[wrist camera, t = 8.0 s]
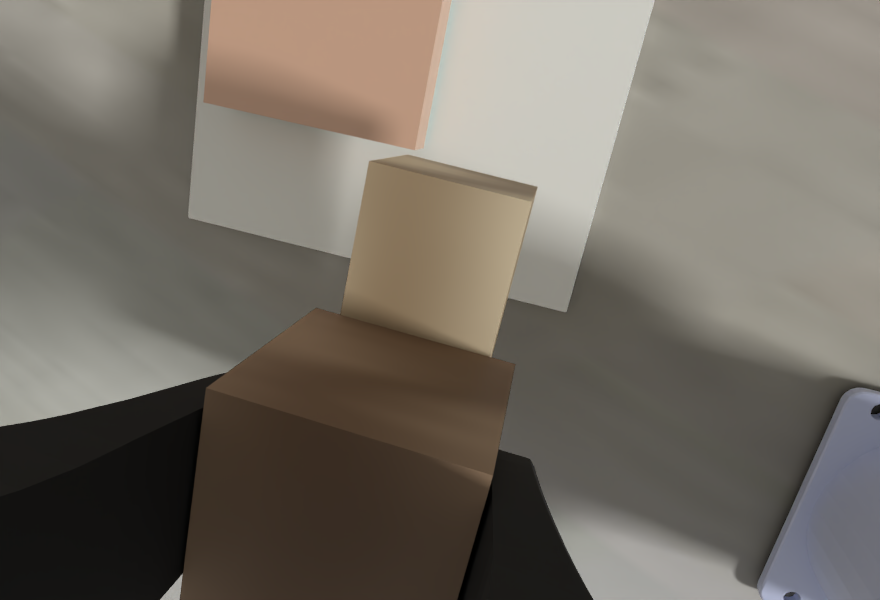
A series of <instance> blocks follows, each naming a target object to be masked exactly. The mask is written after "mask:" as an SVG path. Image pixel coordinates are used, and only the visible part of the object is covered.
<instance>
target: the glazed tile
mask: <svg viewBox="0 0 880 600" xmlns="http://www.w3.org/2000/svg"><path fill="white" fill-rule="evenodd" d="M451 2H452V0H211V12H210V25H209V37H208V50H207V63H206V75H205V88H204V100H203V102H204V103H209V104H213V105H217V106H222V107H226V108H231V109H235V110H240V111H244V112H248V113H253V114H257V115H262V116H266V117H270V118H275V119H279V120H284V121H288V122H292V123H297V124H301V125H306V126H310V127H314V128H319V129H323V130H328V131H332V132H337V133H341V134H345V135H350V136H354V137H359V138H363V139H367V140H372V141H376V142H381V143H385V144H389V145H394V146H398V147H403V148H407V149H411V150H418V149H422V148H424V144H425V139H426V133H427V128H428V123H429V117H430V112H431V107H432V102H433V96H434V91H435V86H436V81H437V75H438V70H439V65H440V60H441V54H442V49H443V44H444V38H445V33H446V28H447V23H448V17H449V12H450V7H451Z"/></svg>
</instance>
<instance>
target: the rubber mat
mask: <svg viewBox="0 0 880 600" xmlns="http://www.w3.org/2000/svg"><path fill="white" fill-rule="evenodd" d="M654 1H655V0H452V2H451V7H450V12H449V17H448V23H447V28H446V33H445V38H444V44H443V49H442V54H441V60H440V65H439V70H438V75H437V81H436V86H435V91H434V96H433V102H432V107H431V112H430V117H429V123H428V128H427V133H426V139H425V144H424V148H422V149H418V150H411V149H407V148H403V147H398V146H394V145H389V144H385V143H381V142H376V141H372V140H367V139H363V138H359V137H354V136H350V135H345V134H341V133H337V132H332V131H328V130H323V129H319V128H314V127H310V126H306V125H301V124H297V123H292V122H288V121H284V120H279V119H275V118H270V117H266V116H262V115H257V114H253V113H248V112H244V111H240V110H235V109H231V108H226V107H222V106H217V105H213V104H209V103H204V102H203V100H204V88H205V75H206V63H207V50H208V37H209V25H210V12H211V0H205V1H204V14H203V27H202V40H201V53H200V66H199V80H198V93H197V106H196V119H195V132H194V145H193V158H192V171H191V185H190V198H189V211H188V218H191V219H195V220H199V221H203V222H207V223H211V224H215V225H219V226H223V227H227V228H231V229H235V230H239V231H243V232H247V233H251V234H255V235H259V236H263V237H267V238H271V239H275V240H279V241H283V242H287V243H291V244H295V245H299V246H303V247H307V248H311V249H315V250H319V251H323V252H327V253H331V254H334V255H338V256H342V257H346V258H350V259H351V255H352V249H353V244H354V239H355V233H356V228H357V223H358V217H359V212H360V207H361V201H362V196H363V191H364V185H365V180H366V175H367V169H368V164H369V161H372V160H378V159H384V158H390V157H396V156H402V155H412V156H416V157H420V158H424V159H428V160H432V161H436V162H440V163H444V164H448V165H452V166H456V167H460V168H464V169H468V170H472V171H476V172H480V173H484V174H488V175H492V176H496V177H500V178H504V179H508V180H512V181H516V182H520V183H524V184H528V185H533V186H537V187H538V188H537V192H536V195H535V199H534V203H533V206H532V210H531V214H530V218H529V221H528V225H527V229H526V232H525V236H524V240H523V243H522V247H521V251H520V255H519V258H518V262H517V266H516V269H515V273H514V277H513V280H512V284H511V288H510V292H509V295H508V298H510V299H514V300H518V301H522V302H526V303H530V304H534V305H538V306H542V307H546V308H550V309H554V310H558V311H562V312H567V308H568V305H569V301H570V298H571V294H572V291H573V287H574V284H575V280H576V277H577V273H578V270H579V266H580V263H581V259H582V255H583V252H584V248H585V245H586V241H587V238H588V234H589V231H590V227H591V224H592V220H593V217H594V213H595V210H596V206H597V202H598V199H599V195H600V192H601V188H602V185H603V181H604V178H605V174H606V171H607V167H608V164H609V160H610V157H611V153H612V149H613V146H614V142H615V139H616V135H617V132H618V128H619V125H620V121H621V118H622V114H623V111H624V107H625V104H626V100H627V97H628V93H629V89H630V86H631V82H632V79H633V75H634V72H635V68H636V65H637V61H638V58H639V54H640V51H641V47H642V44H643V40H644V36H645V33H646V29H647V26H648V22H649V19H650V15H651V12H652V8H653V5H654Z"/></svg>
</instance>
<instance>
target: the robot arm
mask: <svg viewBox="0 0 880 600" xmlns="http://www.w3.org/2000/svg"><path fill="white" fill-rule="evenodd" d="M224 374H226V373H223V374H219V375H215V376H211V377H207V378H203V379H200V380H196V381H192V382H189V383H185V384H182V385H178V386H175V387H171V388H168V389H164V390H160V391H157V392H153V393H150V394H146V395H143V396H139V397H136V398H132V399H128V400H124V401H120V402H116V403H112V404H108V405H104V406H99V407H95V408H91V409H87V410H83V411H79V412H75V413H71V414H67V415H62V416H57V417H52V418H47V419H42V420H37V421H32V422H26V423H20V424H14V425H8V426H2V427H0V600H160V599H161V598H162V597H163V595H164V594H165V593H166V592H167V591H168V590H169V588H170V587H171V586H172V585H173V584H174V583H175V582H176V580H177V579H178V578H179V577H180V576H181V575H182V573H183V570H184V562H185V554H186V546H187V537H188V529H189V521H190V513H191V505H192V497H193V489H194V481H195V473H196V465H197V457H198V448H199V440H200V432H201V424H202V416H203V408H204V400H205V392H206V388H207V387H208V386H209V385H211V384H212V383H213V382H215V381H216V380H218V379H219V378H220V377H222V376H223V375H224ZM879 404H880V392H879V391H875V390H871V389H867V388H859V387H857V388H853V389H850V390H849V391H847V392H845V393H844V395H843V396H842V397H841V399H840V401H839V403H838V405H837V408H836V410H835V412H834V414H833V417H832V419H831V421H830V423H829V425H828V428H827V430H826V432H825V434H824V436H823V439H822V441H821V443H820V445H819V448H818V450H817V452H816V454H815V456H814V459H813V461H812V463H811V465H810V468H809V470H808V472H807V474H806V476H805V479H804V481H803V483H802V485H801V487H800V490H799V492H798V494H797V496H796V499H795V501H794V503H793V505H792V507H791V510H790V512H789V514H788V516H787V519H786V521H785V523H784V525H783V527H782V530H781V532H780V534H779V536H778V538H777V541H776V543H775V545H774V547H773V550H772V552H771V554H770V556H769V558H768V561H767V563H766V565H765V567H764V569H763V572H762V574H761V576H760V578H759V581H758V584H757V589H758V592H759V594H760V597H761V599H762V600H880V413H878V414H871V410H872V409H873V407H874V406H876V405H879ZM789 592H796V593H795V594H794V595H793V596H790V597H787V596H784V595H785V594H786V593H789ZM457 600H593V598H592V596H591V595H590V593H589V591H588V590H587V588H586V586H585V584H584V582H583V580H582V578H581V577H580V575H579V573H578V571H577V569H576V567H575V565H574V563H573V561H572V559H571V557H570V555H569V553H568V551H567V549H566V547H565V545H564V543H563V540H562V538H561V536H560V534H559V532H558V529H557V527H556V525H555V523H554V520H553V518H552V516H551V513H550V511H549V508H548V506H547V503H546V500H545V498H544V495H543V492H542V490H541V487H540V484H539V481H538V478H537V475H536V471H535V468H534V466H533V464H532V462H531V460H530V459H528V458H525V457H522V456H518V455H515V454H512V453H508V452H505V451H502V450H498V453H497V458H496V463H495V468H494V473H493V478H492V481H491V484H490V488H489V491H488V495H487V498H486V502H485V505H484V509H483V512H482V516H481V519H480V523H479V526H478V529H477V533H476V536H475V540H474V543H473V547H472V550H471V554H470V557H469V561H468V564H467V568H466V571H465V574H464V578H463V581H462V585H461V588H460V592H459V595H458V599H457Z"/></svg>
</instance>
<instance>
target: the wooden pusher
mask: <svg viewBox="0 0 880 600" xmlns="http://www.w3.org/2000/svg"><path fill="white" fill-rule="evenodd" d="M537 188H538V187H537V186H533V185H528V184H524V183H520V182H516V181H512V180H508V179H504V178H500V177H496V176H492V175H488V174H484V173H480V172H476V171H472V170H468V169H464V168H460V167H456V166H452V165H448V164H444V163H440V162H436V161H432V160H428V159H424V158H420V157H416V156H412V155H402V156H396V157H390V158H384V159H378V160H372V161H369V164H368V169H367V175H366V180H365V185H364V191H363V196H362V201H361V207H360V212H359V217H358V223H357V228H356V233H355V239H354V244H353V249H352V255H351V260H350V265H349V271H348V276H347V281H346V287H345V292H344V297H343V303H342V308H341V313H340V314H336V313H332V312H329V311H325V310H322V309H318V308H315V309H314V310H313V311H311V312H310V313H308V314H307V315H306V316H304V317H303V318H302V319H300V320H299V321H297V322H296V323H295V324H293V325H292V326H291V327H289V328H288V329H286V330H285V331H284V332H282V333H281V334H280V335H278V336H277V337H275V338H274V339H273V340H271V341H270V342H269V343H267V344H266V345H264V346H263V347H262V348H260V349H259V350H258V351H256V352H255V353H253V354H252V355H251V356H249V357H248V358H247V359H245V360H244V361H242V362H241V363H240V364H238V365H237V366H235V367H234V368H233V369H231V370H230V371H229V372H227V373H226V374H224V375H223V376H222V377H220V378H219V379H218V380H216V381H215V382H213V383H212V384H211V385H209V386H208V387H207V388H206V392H205V400H204V408H203V416H202V424H201V432H200V440H199V448H198V457H197V465H196V473H195V481H194V489H193V497H192V505H191V513H190V521H189V529H188V537H187V546H186V554H185V562H184V570H183V578H182V586H181V594H180V600H457V599H458V595H459V592H460V588H461V585H462V581H463V578H464V574H465V571H466V568H467V564H468V561H469V557H470V554H471V550H472V547H473V543H474V540H475V536H476V533H477V529H478V526H479V523H480V519H481V516H482V512H483V509H484V505H485V502H486V498H487V495H488V491H489V488H490V484H491V481H492V478H493V473H494V468H495V463H496V458H497V453H498V448H499V444H500V439H501V434H502V429H503V424H504V419H505V414H506V409H507V404H508V399H509V394H510V389H511V384H512V379H513V374H514V369H515V364H513V363H509V362H506V361H502V360H499V359H495V358H492V354H493V351H494V347H495V343H496V340H497V336H498V332H499V329H500V325H501V321H502V317H503V314H504V310H505V306H506V303H507V299H508V295H509V292H510V288H511V284H512V280H513V277H514V273H515V269H516V266H517V262H518V258H519V255H520V251H521V247H522V243H523V240H524V236H525V232H526V229H527V225H528V221H529V218H530V214H531V210H532V206H533V203H534V199H535V195H536V192H537Z"/></svg>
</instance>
